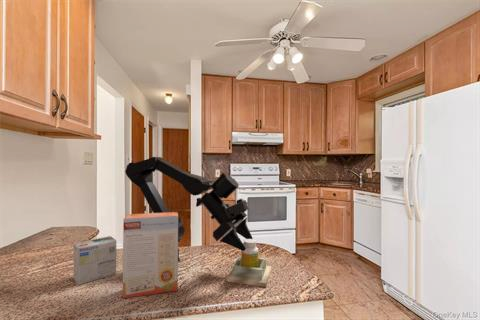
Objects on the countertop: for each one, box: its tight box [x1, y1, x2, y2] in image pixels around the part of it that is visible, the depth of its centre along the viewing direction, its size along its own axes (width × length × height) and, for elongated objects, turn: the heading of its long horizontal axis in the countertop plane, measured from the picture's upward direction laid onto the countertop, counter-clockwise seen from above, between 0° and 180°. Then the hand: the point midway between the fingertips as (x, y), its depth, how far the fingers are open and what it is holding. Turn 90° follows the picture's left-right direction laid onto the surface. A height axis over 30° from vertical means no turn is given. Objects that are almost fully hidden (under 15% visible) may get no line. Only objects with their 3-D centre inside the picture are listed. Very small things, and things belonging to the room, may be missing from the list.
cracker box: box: [122, 211, 179, 299], centre depth 67 cm, size 14×6×21 cm, turn 106°
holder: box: [225, 254, 272, 288], centre depth 77 cm, size 12×12×4 cm
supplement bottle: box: [240, 238, 259, 268], centre depth 77 cm, size 5×5×10 cm
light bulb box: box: [73, 235, 117, 286], centre depth 75 cm, size 11×7×11 cm, turn 135°
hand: (248, 245), depth 77 cm, fingers open, 9 cm apart
